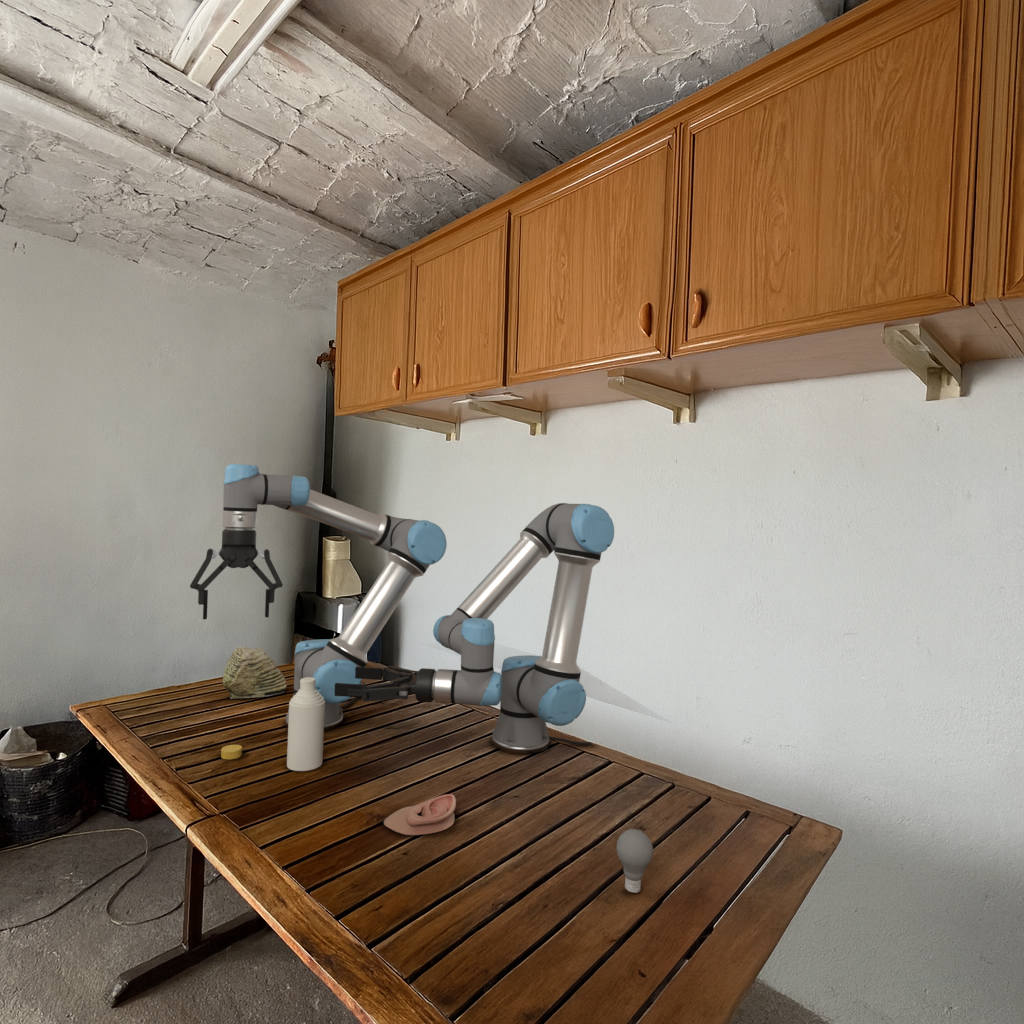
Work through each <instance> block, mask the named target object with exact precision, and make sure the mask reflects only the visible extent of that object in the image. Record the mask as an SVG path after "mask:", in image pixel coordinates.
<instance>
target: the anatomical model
mask: <svg viewBox="0 0 1024 1024" xmlns="http://www.w3.org/2000/svg"><path fill="white" fill-rule="evenodd" d="M456 806H457V798H456V796H455V795H454V794H452V793H447V794H442V795H438V796H435V797H433V798H430V799H427V800H425V801H423V802H420V803H418V804H416V805H411V806H405V807H402V808H400V809H398V810H396V811H394V812H393V813H391V814H390V815H388V816H387V817H386V818H384V821H383V825H384V826H385V827H386V828H388V829H390V830H392V831H393V832H396V833H398V834H401V835H405V836H420V835H429V834H435V833H439V832H442V831H444V830H447V829H449V828H450V827H453V825H454V823H455V819H456V817H455V813H454V812H455V810H456Z"/></svg>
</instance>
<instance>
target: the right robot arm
mask: <svg viewBox="0 0 1024 1024" xmlns="http://www.w3.org/2000/svg"><path fill="white" fill-rule="evenodd" d="M614 538H615V525H614V522H613V519H612V518H611V517H610V513H608V512H607V511H606V510H605V509H604V508H603V507H601V506H599V505H595V504H591V503H568V502H560V503H555V504H552V505H551V506H548V507H547V508H545V509H544V510H542V511H541V512H540V513H538V514H537V515H536V517H534V518H533V519H532V520H531V521H530V522H529V523H528V524H527V525H526V526H525V527H524V529H522V531H521V532H520V533H519V539H518V540H517V542H516V543H515V544H513V546H512V547H511V549H509V550H508V551H507V552H506V554H505V555H504V556H503V557H502V558H501V559H500V561H499V562H498V563H497V564H496V565H494V567H493V568H492V569H491V570H490V572H489V573H488V574H487V575H486V576H485V577H484V578H483V579H482V580H481V581H480V583H478V584H477V586H476V587H475V588H474V589H473V590H472V591H471V592H470V593H469V595H468V596H466V598H465V599H464V600H463V601H462V602H461V603H460V604H459V605H458V607H457V608H456V609H455V610H454V611H453V612H452V613H451V614H449V615H448V614H446V615H442V616H441V617H439V618H438V619H437V620H436V621H435V622H434V626H433V629H432V631H433V632H432V634H433V637H434V639H435V640H436V642H437V643H438V644H440V645H441V646H442V647H444V648H446V649H449V650H451V651H453V652H455V653H456V654H458V655H459V656H460V669H459V670H458V669H448V668H439V669H437V670H436V669H435V668H425V667H424V668H423V667H421V668H420V669H419V670H412V669H408V668H404V667H399V666H394V665H388V666H387V667H371V666H370V667H368V666H365V667H355V678H356V679H362V680H373V681H375V680H378V681H382V682H384V683H377V684H371V685H367V684H366V683H365V682H363V683H361V684H346V683H335V696H345V697H352V698H355V697H360V699H361V698H362V702H364V703H368V702H376V701H378V702H379V701H389V700H407V699H409V695H412V694H414V695H415V700H416V701H417V702H419V703H433V702H435V703H438V704H444V705H445V706H449V705H450V704H453V705H465V706H466V705H468V706H479V707H493V706H498V705H499V704H500V706H499V715H498V717H497V720H496V723H495V726H494V728H493V731H492V734H491V744H492V745H493V746H494V747H495V748H496V749H498V750H500V751H503V752H506V753H509V754H516V755H531V754H532V755H533V754H537V753H542V752H544V751H546V750H547V749H548V748H549V747H550V740H552V741H557V742H562V743H566V744H571V745H577V746H592V744H593V743H592V742H591V741H574V740H569V739H566V738H562V737H557V736H551V735H550V733H549V730H548V726H547V724H551V725H553V726H556V727H557V726H558V727H563V726H567V725H570V724H571V723H572V722H574V721H575V720H576V719H578V718H579V717H580V716H581V714H582V713H583V711H584V708H585V706H586V702H587V693H586V690H585V689H584V686H583V684H581V682H580V680H581V674H582V669H581V668H580V666H579V664H578V663H577V661H578V655H579V649H580V644H581V638H582V632H583V626H584V621H585V620H584V619H585V613H586V608H587V603H588V597H589V590H590V585H591V580H592V573H593V568H594V567H595V566H596V565H598V564H599V563H600V562H601V558H602V557H601V556H602V553H604V552H606V551H607V550H608V548H610V547H611V545H612V544H613V541H614ZM552 553H553V554H554V556H555V558H556V559H557V560H558V562H557V563H558V564H557V569H556V575H555V582H554V587H553V593H552V597H551V603H550V610H549V614H548V620H547V626H546V633H545V637H544V642H543V649H542V654H541V655H529V654H528V655H513V656H508V657H505V658H504V659H503V661H502V664H501V670H500V672H498V671H495V668H494V655H495V641H496V635H495V623H494V622H493V620H491V619H489V618H490V617H491V616H492V615H493V613H494V612H495V611H496V610H497V609H498V607H500V605H501V604H502V603H504V601H505V600H506V599H507V597H509V595H511V593H512V592H513V591H514V590H515V589H516V588H517V587H518V586H519V584H521V582H522V581H523V580H524V578H525V577H527V575H528V574H529V573H530V572H531V571H532V570H533V568H534V567H536V565H537V564H538V563H539V562H540V560H541V559H547V558H548V557H549V556H550V555H551V554H552ZM387 681H389V682H387ZM368 693H369V694H368Z"/></svg>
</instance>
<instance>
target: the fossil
mask: <svg viewBox="0 0 1024 1024" xmlns="http://www.w3.org/2000/svg"><path fill="white" fill-rule="evenodd" d="M222 676H223V677H222V685H223V687H224V688H225V690H226V691H228V693H229V698H230V699H250V698H264V697H271V696H275V695H281V694H284V693H285V691H286V689H287V687H288V686H287V680H286V678H285V676H284V674H283V673H282V672H281V669H279V668H278V667H277V665H276V663H275V662H274V660H273V659H272V658H271V657H270V656H269V655H268V654H267V653H266V652H265V650H264V649H263V648H260V647H258V648H251V647H247V646H246V647H245V646H238V647H237V648H236V649H235V650H233V651H232V653H231V656H230V657H229V659H228V660H227V663H226V666H225V668H224V671H223V675H222Z"/></svg>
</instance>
